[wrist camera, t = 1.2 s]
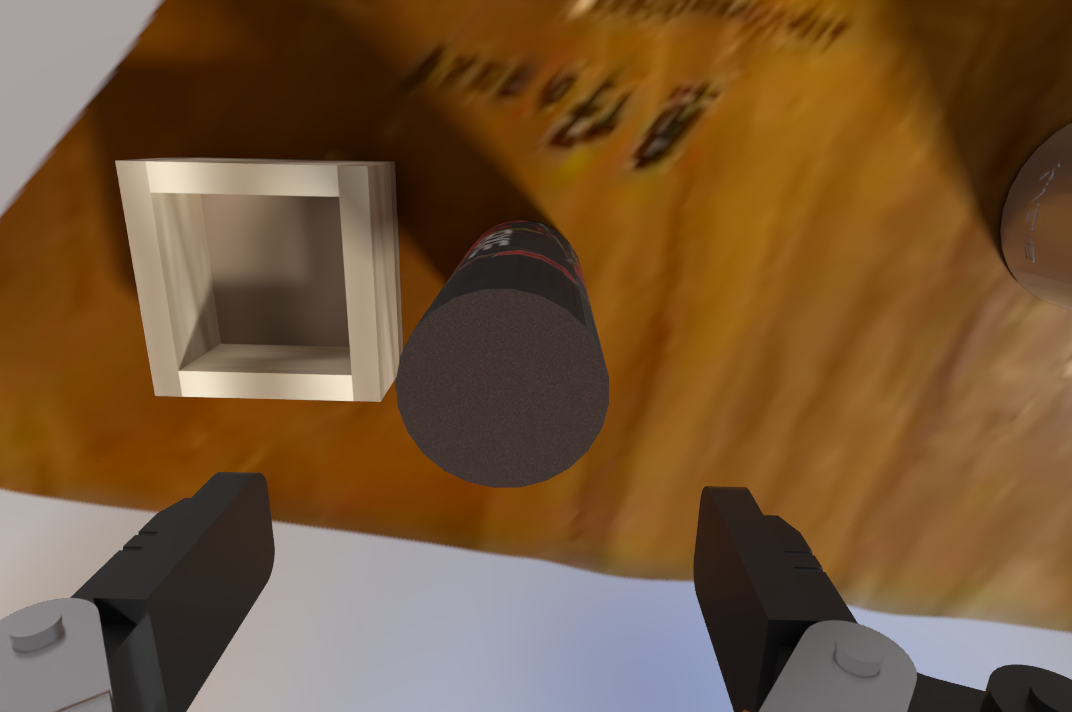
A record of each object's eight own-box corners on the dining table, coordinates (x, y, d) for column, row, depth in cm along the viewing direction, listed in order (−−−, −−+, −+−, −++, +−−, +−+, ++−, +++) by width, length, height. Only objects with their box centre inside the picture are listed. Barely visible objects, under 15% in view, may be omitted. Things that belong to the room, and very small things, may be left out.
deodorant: (514, 361, 34) (490, 524, 20) (436, 272, 33) (351, 378, 18) (606, 289, 33) (652, 408, 19) (530, 193, 31) (516, 241, 17)
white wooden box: (394, 161, 31) (367, 166, 26) (403, 364, 34) (380, 401, 29) (181, 156, 31) (115, 160, 26) (209, 359, 34) (155, 395, 29)
